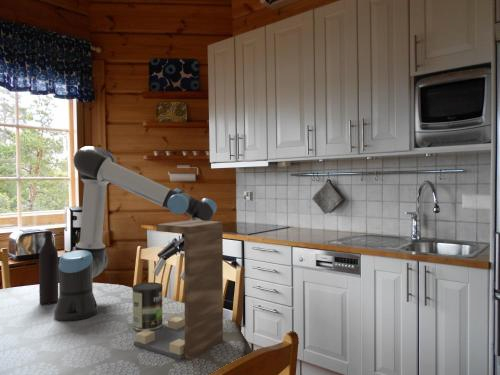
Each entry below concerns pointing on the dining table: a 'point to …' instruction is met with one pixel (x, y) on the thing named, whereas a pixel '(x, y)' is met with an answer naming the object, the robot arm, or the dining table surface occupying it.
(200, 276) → the walnut shelf
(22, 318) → the dining table surface
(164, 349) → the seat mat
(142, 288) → the coffee can
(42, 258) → the wine bottle
